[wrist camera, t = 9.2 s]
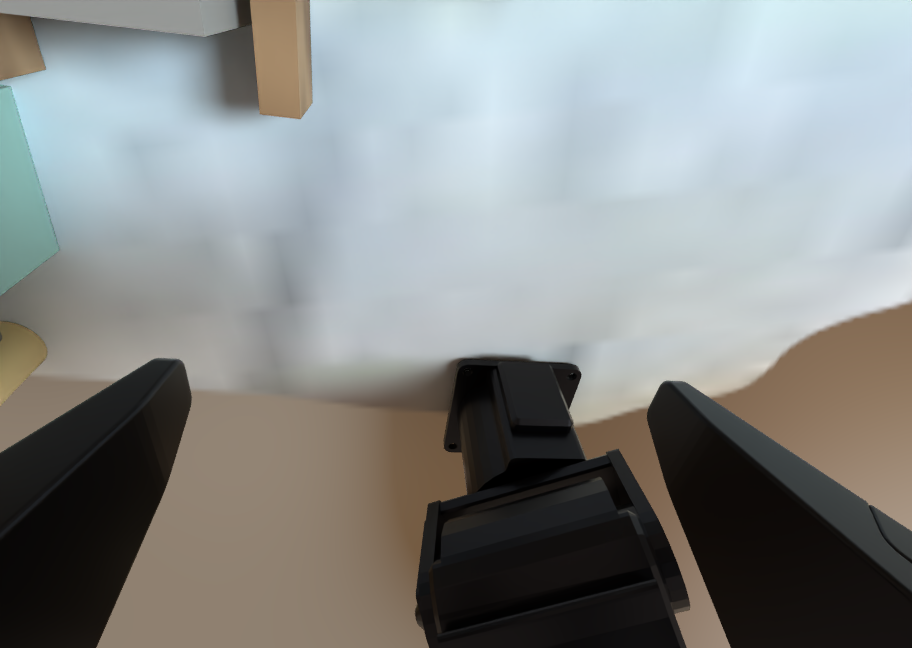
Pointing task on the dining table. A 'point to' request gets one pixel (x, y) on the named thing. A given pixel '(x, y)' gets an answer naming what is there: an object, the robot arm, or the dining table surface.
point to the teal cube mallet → (19, 242)
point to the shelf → (275, 46)
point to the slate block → (142, 13)
